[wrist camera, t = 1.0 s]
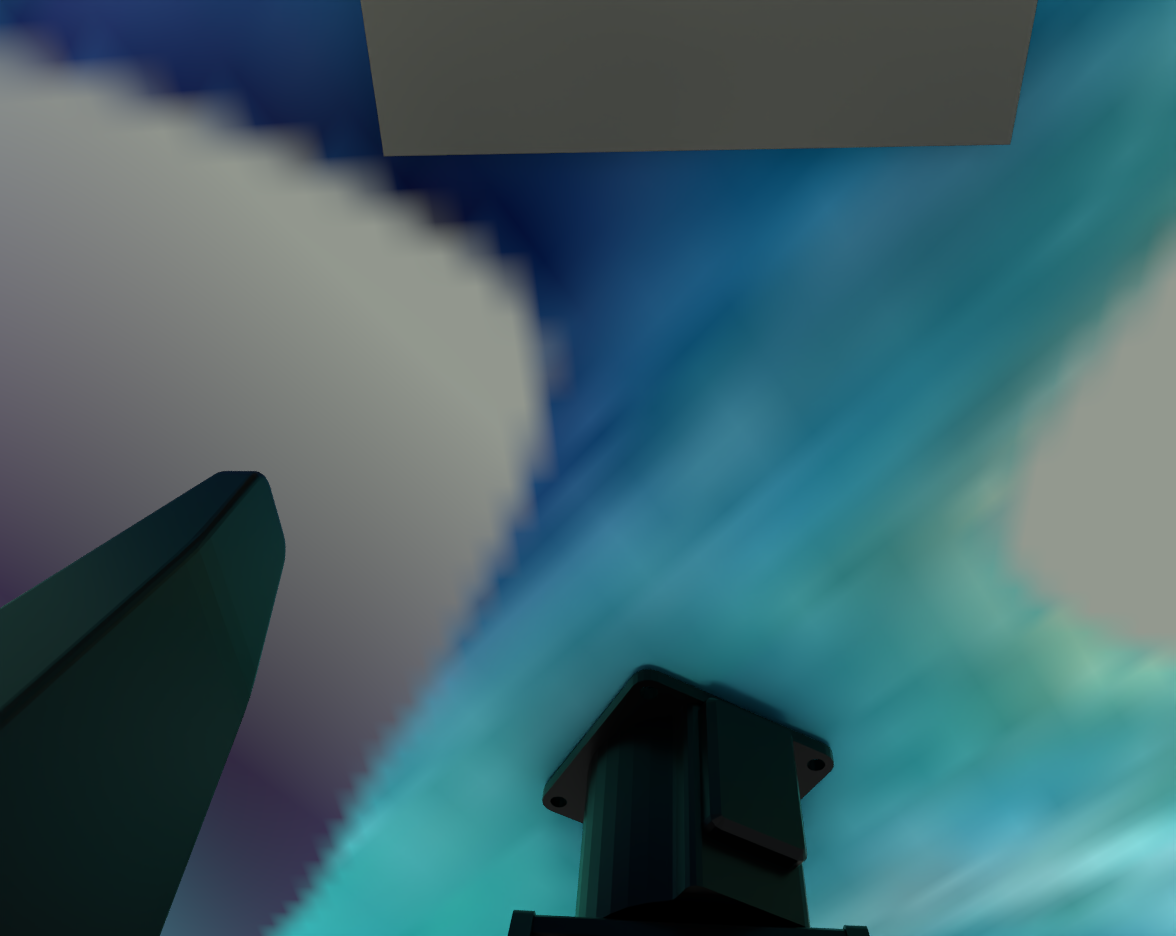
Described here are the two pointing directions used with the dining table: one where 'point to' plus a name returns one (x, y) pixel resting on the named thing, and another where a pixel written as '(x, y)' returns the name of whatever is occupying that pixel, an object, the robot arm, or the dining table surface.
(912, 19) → the mat
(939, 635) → the dining table surface
